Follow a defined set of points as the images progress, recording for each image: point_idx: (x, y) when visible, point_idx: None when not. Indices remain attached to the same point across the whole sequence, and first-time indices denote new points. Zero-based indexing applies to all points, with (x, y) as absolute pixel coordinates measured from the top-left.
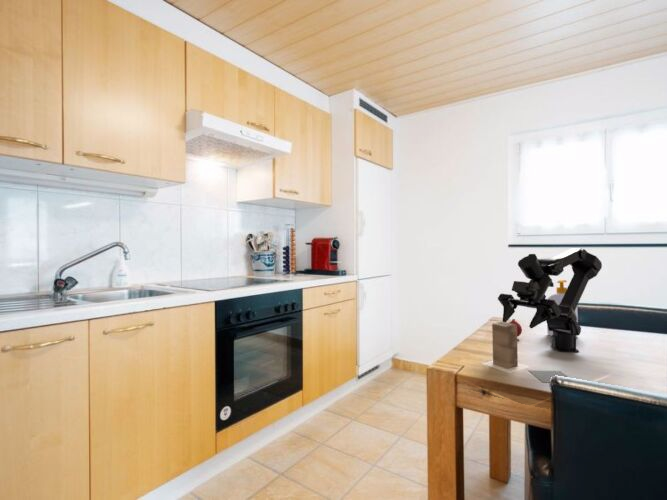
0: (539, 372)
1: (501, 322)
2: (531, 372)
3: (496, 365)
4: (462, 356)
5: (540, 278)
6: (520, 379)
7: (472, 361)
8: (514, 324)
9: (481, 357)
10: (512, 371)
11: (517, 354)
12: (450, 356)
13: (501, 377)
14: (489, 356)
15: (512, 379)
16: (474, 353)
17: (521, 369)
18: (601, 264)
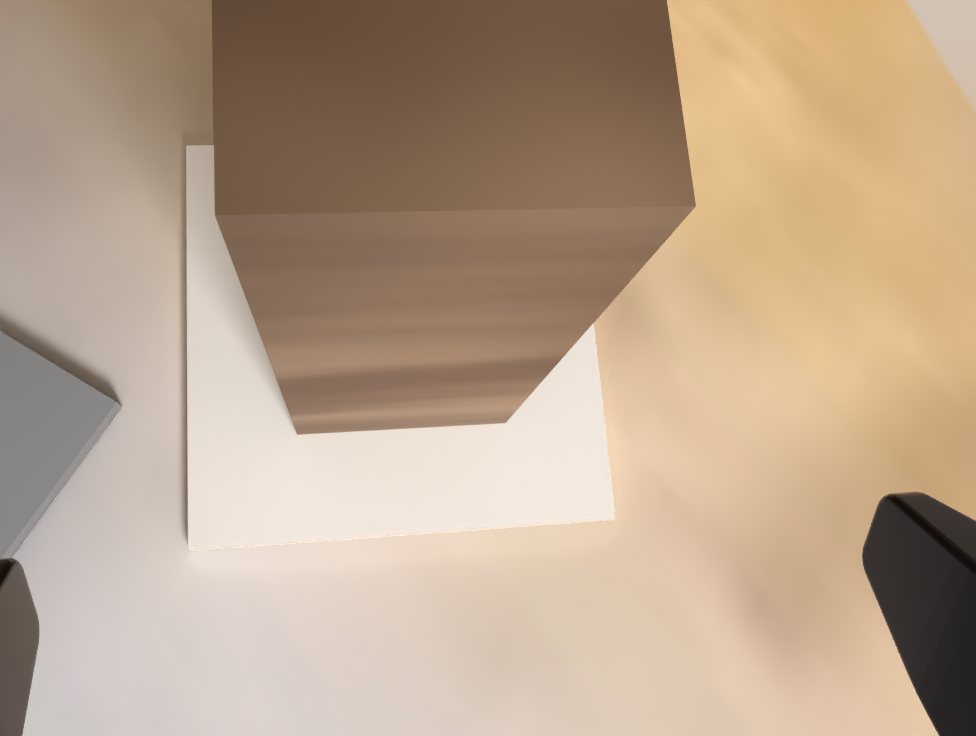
0: None
1: (633, 99)
2: (47, 368)
3: None
4: (877, 194)
5: None
6: (31, 131)
7: (694, 155)
8: (267, 172)
9: (764, 356)
10: (204, 217)
11: (287, 406)
12: (924, 84)
13: (184, 20)
14: (756, 476)
15: (81, 64)
16: (919, 404)
17: (189, 364)
18: None
